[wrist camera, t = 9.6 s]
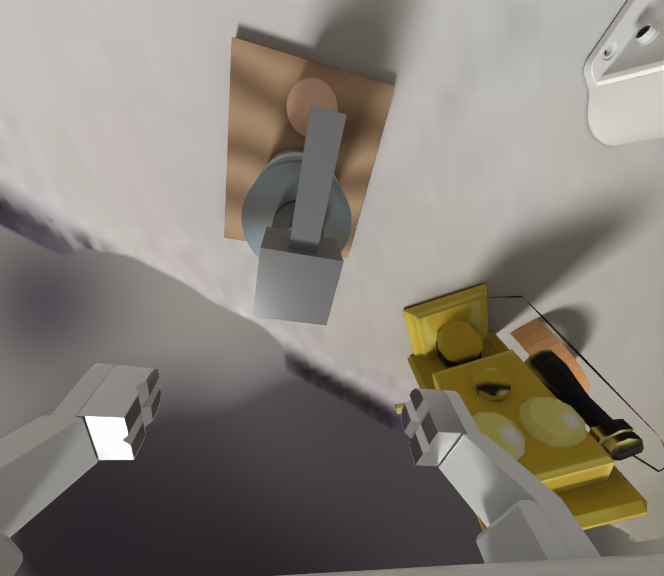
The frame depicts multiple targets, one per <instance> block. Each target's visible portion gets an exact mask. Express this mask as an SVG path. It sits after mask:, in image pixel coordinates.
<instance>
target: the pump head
mask: <svg viewBox="0 0 664 576" xmlns="http://www.w3.org/2000/svg"><path fill="white" fill-rule="evenodd" d="M346 116H347V115H346V114H343V113H339V112H335V111H332V110H328V109H324V108H321V107H317V106H313V105H311V107H310V113H309V120H308V126H307V132H306V139H305V145H304V151H303V157H302V164H301V170H300V176H299V183H298V189H297V195H296V202H295V208H294V214H293V220H292V226H291V227H290V228H289V229H288V230H284V229H278V228H273V227H266V231H265V234H264V237H263V240H262V244H261V247H260V255H259V264H258V274H257V283H256V293H255V302H254V311H253V317H261V318H269V319H278V320H286V321H295V322H303V323H311V324H320V325H326V324H327V321H328V317H329V313H330V310H331V306H332V302H333V299H334V295H335V291H336V287H337V284H338V280H339V276H340V273H341V269H342V265H343V258H342V255H341V252H340V248H339V245H338V242H337V239H333V238H328V237H322V236H321V232H322V227H323V223H324V218H325V213H326V209H327V204H328V199H329V195H330V190H331V185H332V181H333V176H334V171H335V167H336V162H337V157H338V153H339V148H340V143H341V139H342V134H343V130H344V125H345V120H346Z"/></svg>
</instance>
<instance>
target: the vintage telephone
mask: <svg viewBox="0 0 664 576" xmlns="http://www.w3.org/2000/svg"><path fill="white" fill-rule="evenodd" d="M510 297H523V296H507V297H487V283H486V284H482V285H479V286H476V287H473V288H470V289H467V290H464V291H461V292H458V293H455V294H451V295H448V296H445V297H442V298H439V299H436V300H433V301H430V302H427V303H424V304H421V305H418V306H414V307H411V308H408V309H405V310H403V313H404V317H405V321H406V325H407V329H408V333H409V337H410V341H411V345H412V349H413V353H414V355H412V356H410V357H409V358H408V362H409V365H410V367H411V369H412V371H413V374H414V376H415V378H416V380H417V383H418V385H419V387H420V389H436V390H447V391H456V392H457V393H458V394H459V395H460V397H461V399H462V400H463V402H464V404H465V406H466V407H467V409H468V411H469V413H470V414H471V416H472V418H473V419H474V421H475V423H476V425H477V426H478V428H479V430H480V432H481V433H482V435H487V436H488V437H489V438H490V439H491V440H493V441H494V442H495V443H496V444H497V445H499V446H500V447H501V448H502V449H503V450H504V451H506V452H507V453H508V454H509V455H510V456H512V457H513V458H514V459H515V460H516V461H517V462H519V463H520V464H521V465H522V466H523V467H525V468H526V469H527V470H528V471H529V472H530V473H532V474H533V475H534V476H535V477H536V478H538V479H539V480H540V481H541V482H542V483H543V484H545V485H546V486H547V487H548V488H549V489H551V490H552V491H553V492H554V493H555V494H556V495H558V496H559V497H560V498H561V499H562V500H563V502H564V503H565V505H566V506H567V508H568V509H569V511H570V512H571V514H572V515H573V516H574V518H575V519H576V521H577V522H578V524H579V525H580V527H581V528H582V530H585V529H589V528H593V527H597V526H601V525H606V524H610V523H614V522H618V521H622V520H626V519H630V518H634V517H639V516H643V515H645V514H646V513H647V501H646V500H645V499H644V498H643V497H642V496H641V494H640V493H639V492H638V491H637V490H636V489H635V488H634V487H633V486H632V485H631V483H630V482H629V481H628V480H627V479H626V478H625V477H624V476H623V475H622V473H621V472H620V471H619V470H618V469H617V468H616V467H615V466H614V463H615V461H614V460H623V459H626V458H628V457H631V456H633V457H635V458H637V459H638V460H640V461H641V462H643V463H645V464H646V465H648V466H649V467H651V468H652V469H654V470H656V471H657V472H659V470H657V469H656V468H654V467H653V466H651V465H649V464H648V463H646V462H645V461H643V460H641V459H640V458H638V457H636V456H635V455H636V454H639V453H641V452H642V451H643V449H644V447H643V442H642V439H641V438H640V437H639V436H638V435H637V434H635V433H634V432H632V431H633V428H632V427H631V426H630V425H629V424H628V423H627V422H626V421H624V420H623V419H615V420H613V419H612V418H611V417H610V416H609V415H608V414H607V413H606V412H605V411H603V410H602V409H601V408H600V407H599V406H598V405H597V404H596V403H595V402H594V401H593V400H592V399H591V398H590V397H589V396H588V394H587V393H586V391H585V390H584V388H583V387H582V386H581V384H580V383H579V381H578V380H577V378H576V377H575V376H574V374H573V373H572V371H571V370H570V368H569V367H568V365H567V364H566V363H565V362H564V361H563V360H561V359H560V358H559V357H558V356H557V355H556V354H555V353H554V352H553V351H552V350H551V349H548V350H540V351H538V352H536V353H534V354H532V355H530V356H529V358H528V359H527V360H526V361H525V362H523V361H522V360H521V359H520V358H519V357H518V355H517V354H516V353H515V352H514V351H513V350H509V349H508V348H507V346H506V345H505V344H504V343H503V342H502V341H501V340H500V339H499V338H498V337H497V335H496V334H495V333H494V332H491V331H490V332H488V307H487V298H510ZM523 298H524V297H523ZM524 299H525V298H524ZM525 300H526V299H525ZM526 301H527V300H526ZM527 302H528V301H527ZM528 303H529V302H528ZM529 304H530V303H529ZM530 305H531V304H530ZM531 306H532V305H531ZM532 307H533V306H532ZM533 308H534V307H533ZM534 310H535V311H536V312H537V313H538V314H539V315H540V316H541V317H542V318H543V319H544V320H545V321H546V322H547V323H548V324H549V325H550V326H551V327H552V328H553V329H554V331H555V332H556V333H557V334H558V335H559V336H560V337H561V338H562V339H563V340H564V341H565V342H566V343H567V344H568V345H569V346H570V347H571V348H572V349H573V350H574V351H575V352H576V353H577V354H578V355H579V356H580V357H581V358H582V359H583V360H584V361H585V362H586V363H587V364H588V365H589V366H590V367H591V368H592V369H593V370H594V371H595V372H596V373H597V374H598V376H599V377H600V378H601V379H602V380H603V381H604V382H605V383H606V384H607V385H608V386H609V387H610V388H611V389H612V390H613V391H614V392H615V393H616V394H617V395H618V396H619V397H620V398H621V399H622V400H623V401H624V402H625V403H626V404H627V405H628V406H629V407H630V408H631V409H632V410H633V411H634V409H633V408H632V407H631V406H630V405H629V404H628V403H627V402H626V401H625V400H624V399H623V398H622V397H621V396H620V395H619V394H618V393H617V392H616V391H615V390H614V389H613V388H612V387H611V385H610V384H609V383H608V382H607V381H606V380H605V379H604V378H603V377H602V376H601V375H600V374H599V373H598V372H597V371H596V370H595V369H594V368H593V367H592V366H591V365H590V364H589V363H588V362H587V360H586V359H585V358H584V357H583V356H582V355H581V354H580V353H579V352H578V351H577V350H576V349H575V348H574V347H573V346H572V345H571V344H570V343H569V342H568V341H567V340H566V339H565V338H564V337H563V336H562V335H561V334H560V333H559V332H558V331H557V330H556V329H555V328H554V327H553V326H552V325H551V324H550V323H549V322H548V321H547V320H546V319H545V318H544V317H543V316H542V315H541V314H540V313H539V312H538V311H537V310H536V309H535V308H534ZM558 399H559V400H560V401H559V400H558ZM404 404H405V403H401V404H396V405H395V408H396V411H397V414H400V413H402V409H403V407H404ZM634 412H635V411H634ZM635 413H636V412H635ZM636 414H637V413H636ZM637 415H638V414H637ZM638 416H639V415H638ZM639 417H640V416H639ZM640 418H641V417H640ZM641 419H642V418H641ZM642 420H643V419H642ZM643 421H644V420H643ZM644 422H645V421H644ZM585 423H586V424H587V425H588V426H589V427H590V432H589V433H588V432H587V431H586V428H585ZM645 423H646V422H645ZM646 424H647V423H646ZM647 425H648V424H647ZM648 426H649V425H648ZM649 427H650V426H649ZM650 428H651V427H650ZM651 429H652V428H651ZM652 430H653V429H652ZM653 431H654V430H653ZM654 432H655V431H654ZM655 433H656V432H655ZM656 434H657V433H656ZM660 439H661V438H660ZM661 442H662V440H661ZM662 444H663V442H662ZM663 446H664V444H663ZM663 469H664V468H663ZM663 469H661V470H660V471H662V470H663ZM476 515H477V514H476ZM477 517H478V515H477ZM478 520H479V522H480V524H481V526H482V528H483V531H484V530H485V529H486V528H487V527H486V525H485V524H484V523H483V522H482V520H481V519H480V518H479V517H478Z"/></svg>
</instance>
